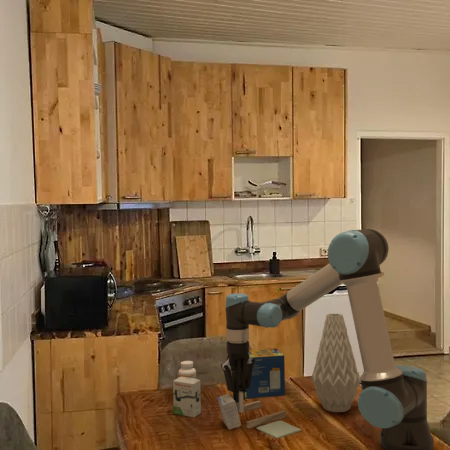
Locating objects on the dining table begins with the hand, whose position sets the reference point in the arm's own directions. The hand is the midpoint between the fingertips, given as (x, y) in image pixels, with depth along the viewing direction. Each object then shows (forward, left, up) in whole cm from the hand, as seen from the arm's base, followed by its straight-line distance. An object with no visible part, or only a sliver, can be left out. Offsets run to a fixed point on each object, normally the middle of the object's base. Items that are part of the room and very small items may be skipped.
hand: (239, 411), depth 193 cm
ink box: (+17, +10, -4) cm, 20 cm away
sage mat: (-14, -5, -3) cm, 15 cm away
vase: (-12, -33, -3) cm, 35 cm away
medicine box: (-1, +4, -3) cm, 5 cm away
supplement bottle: (+33, 0, -4) cm, 33 cm away
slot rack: (0, -6, -3) cm, 7 cm away
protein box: (+18, -24, -4) cm, 30 cm away
